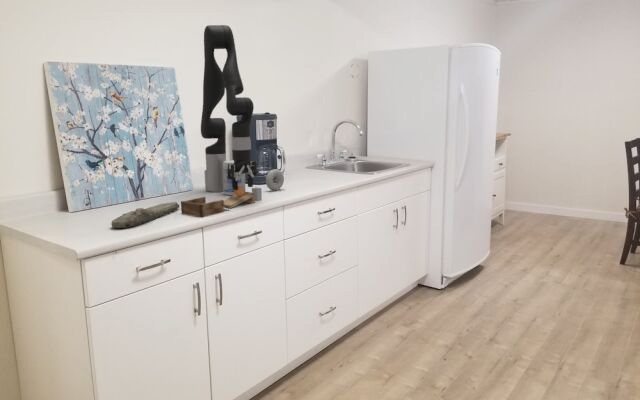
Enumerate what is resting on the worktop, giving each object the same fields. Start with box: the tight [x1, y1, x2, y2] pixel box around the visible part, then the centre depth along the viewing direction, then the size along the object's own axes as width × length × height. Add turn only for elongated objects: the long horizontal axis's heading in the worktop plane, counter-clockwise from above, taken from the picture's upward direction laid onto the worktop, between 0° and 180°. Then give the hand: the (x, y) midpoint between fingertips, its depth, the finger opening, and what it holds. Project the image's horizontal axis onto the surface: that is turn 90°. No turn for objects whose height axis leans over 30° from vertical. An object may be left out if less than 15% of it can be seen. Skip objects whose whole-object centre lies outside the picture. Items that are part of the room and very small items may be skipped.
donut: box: [265, 168, 285, 191], centre depth 236 cm, size 10×4×10 cm, turn 136°
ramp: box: [223, 191, 256, 209], centre depth 206 cm, size 14×7×4 cm, turn 144°
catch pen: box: [180, 196, 225, 218], centre depth 192 cm, size 11×11×4 cm
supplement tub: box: [223, 159, 246, 197], centre depth 227 cm, size 10×10×15 cm
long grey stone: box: [110, 201, 181, 229], centre depth 184 cm, size 35×5×10 cm
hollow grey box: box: [251, 186, 263, 202], centre depth 215 cm, size 3×3×5 cm
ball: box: [234, 186, 244, 196], centre depth 206 cm, size 4×4×4 cm
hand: (243, 188), depth 208 cm, fingers open, 8 cm apart
